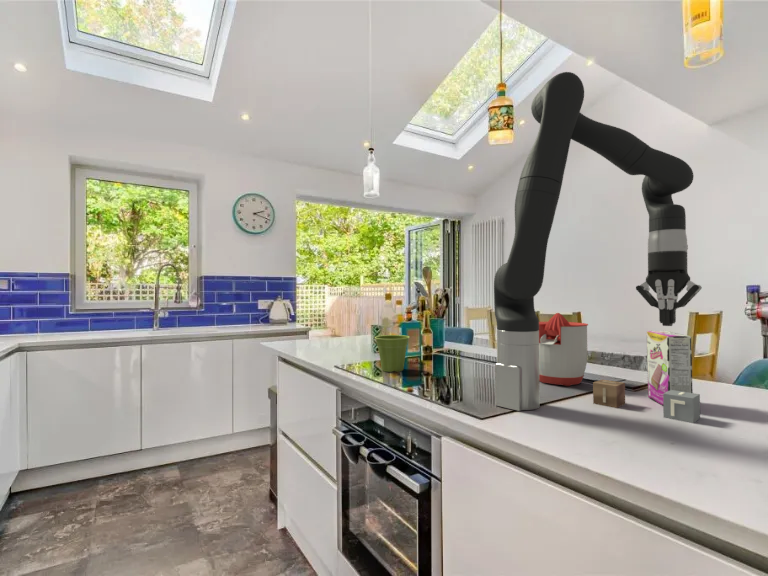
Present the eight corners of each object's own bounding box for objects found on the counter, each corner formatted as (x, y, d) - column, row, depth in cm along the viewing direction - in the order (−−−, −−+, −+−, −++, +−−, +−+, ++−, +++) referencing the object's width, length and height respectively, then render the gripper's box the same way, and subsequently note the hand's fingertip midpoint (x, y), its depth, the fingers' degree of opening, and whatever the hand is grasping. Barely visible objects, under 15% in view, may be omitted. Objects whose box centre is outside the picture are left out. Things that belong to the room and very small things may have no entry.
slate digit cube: (693, 423, 80) (692, 397, 80) (663, 418, 84) (663, 393, 84) (700, 418, 83) (699, 393, 83) (671, 413, 87) (670, 389, 87)
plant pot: (380, 366, 144) (379, 334, 144) (413, 368, 141) (412, 335, 141) (370, 372, 132) (370, 338, 133) (405, 374, 129) (405, 339, 129)
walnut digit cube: (616, 408, 91) (615, 385, 91) (593, 404, 95) (592, 381, 95) (625, 404, 94) (624, 382, 94) (602, 400, 98) (602, 378, 98)
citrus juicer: (519, 383, 116) (518, 313, 116) (541, 374, 129) (540, 311, 129) (578, 392, 106) (577, 314, 106) (595, 381, 119) (594, 312, 119)
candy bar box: (646, 397, 100) (645, 330, 100) (669, 398, 99) (668, 330, 99) (668, 410, 89) (667, 335, 89) (694, 411, 88) (693, 335, 88)
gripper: (629, 252, 97) (629, 324, 97) (697, 247, 87) (698, 328, 87) (640, 254, 102) (641, 323, 102) (706, 249, 92) (707, 326, 92)
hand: (667, 325), depth 94 cm, fingers closed
